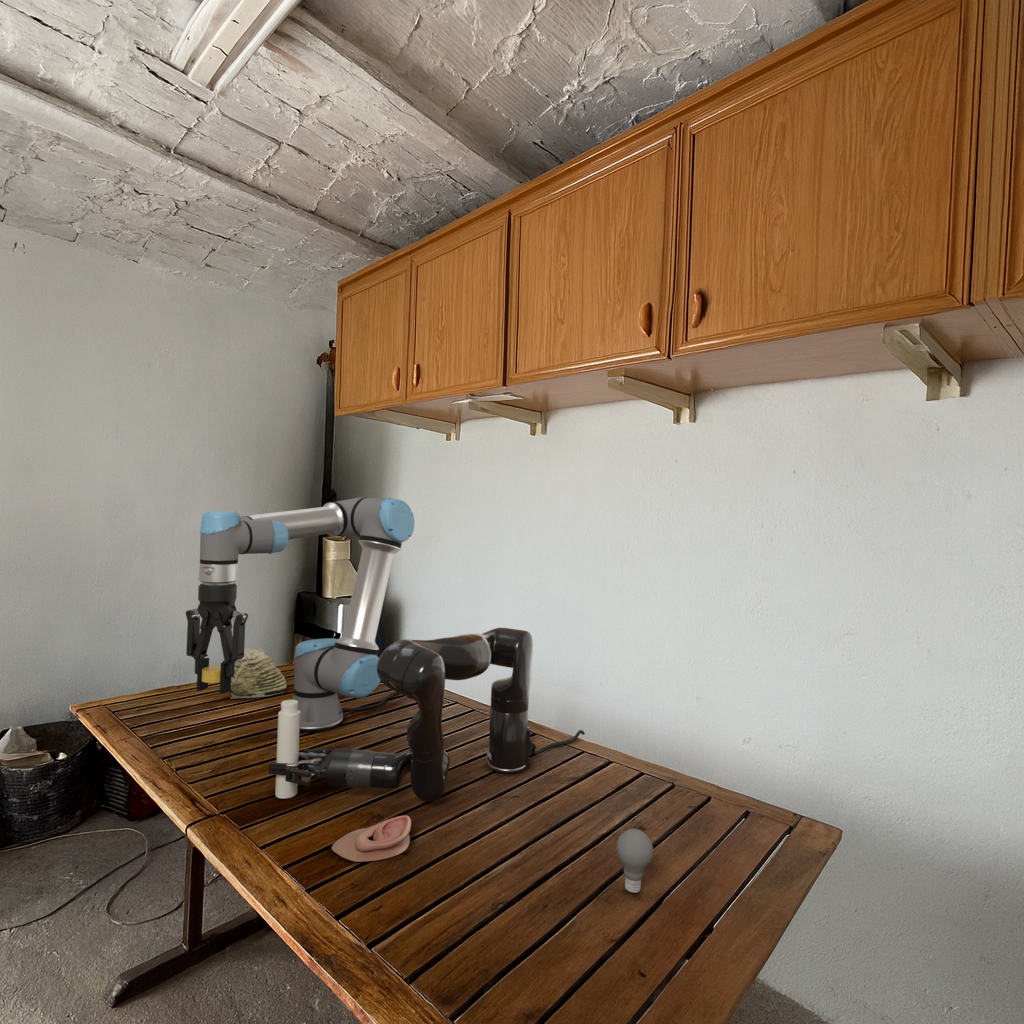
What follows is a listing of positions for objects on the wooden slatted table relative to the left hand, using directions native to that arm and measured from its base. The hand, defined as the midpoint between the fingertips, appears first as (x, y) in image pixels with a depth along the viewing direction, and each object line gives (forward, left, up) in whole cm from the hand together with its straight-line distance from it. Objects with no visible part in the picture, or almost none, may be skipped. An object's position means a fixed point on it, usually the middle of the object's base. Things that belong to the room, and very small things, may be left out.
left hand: (213, 690), depth 137 cm
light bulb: (-29, +86, -21) cm, 93 cm away
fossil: (-38, -50, -21) cm, 66 cm away
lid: (0, 0, +4) cm, 4 cm away
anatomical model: (-8, +44, -21) cm, 49 cm away
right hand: (-7, +13, -14) cm, 21 cm away
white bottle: (-9, +15, -21) cm, 27 cm away
